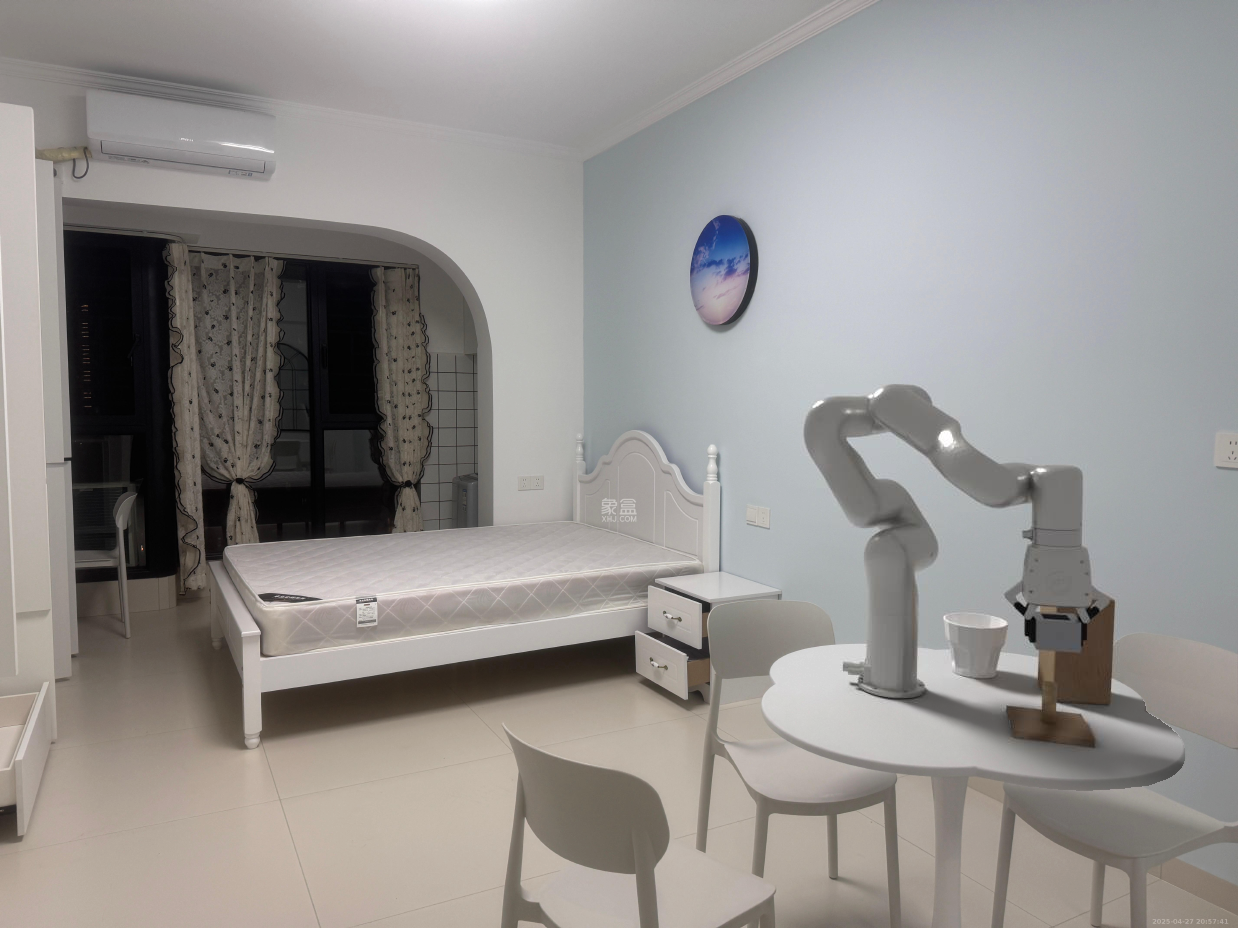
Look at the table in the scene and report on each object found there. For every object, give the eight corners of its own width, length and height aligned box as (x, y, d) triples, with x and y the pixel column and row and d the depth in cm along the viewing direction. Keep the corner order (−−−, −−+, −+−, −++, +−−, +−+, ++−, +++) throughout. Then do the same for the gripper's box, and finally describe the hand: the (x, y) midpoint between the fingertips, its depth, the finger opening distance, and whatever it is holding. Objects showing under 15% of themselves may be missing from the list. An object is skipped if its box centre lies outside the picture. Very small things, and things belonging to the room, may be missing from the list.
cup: (936, 660, 177) (937, 611, 176) (997, 664, 174) (999, 613, 173) (948, 679, 164) (949, 626, 164) (1014, 683, 162) (1016, 629, 161)
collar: (1036, 649, 136) (1036, 620, 136) (1030, 639, 142) (1031, 611, 142) (1080, 652, 134) (1081, 622, 134) (1073, 642, 140) (1073, 613, 140)
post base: (1013, 736, 136) (1015, 690, 135) (1006, 711, 147) (1007, 668, 147) (1095, 747, 132) (1097, 699, 131) (1080, 720, 143) (1082, 676, 143)
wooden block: (1111, 706, 150) (1116, 599, 149) (1052, 702, 152) (1056, 597, 151) (1091, 687, 160) (1095, 587, 158) (1036, 684, 162) (1040, 585, 160)
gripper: (1002, 539, 137) (1001, 644, 138) (1120, 543, 131) (1118, 652, 132) (997, 533, 144) (996, 633, 145) (1110, 536, 138) (1108, 640, 139)
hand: (1055, 641), depth 138 cm, fingers closed on collar, 6 cm apart
